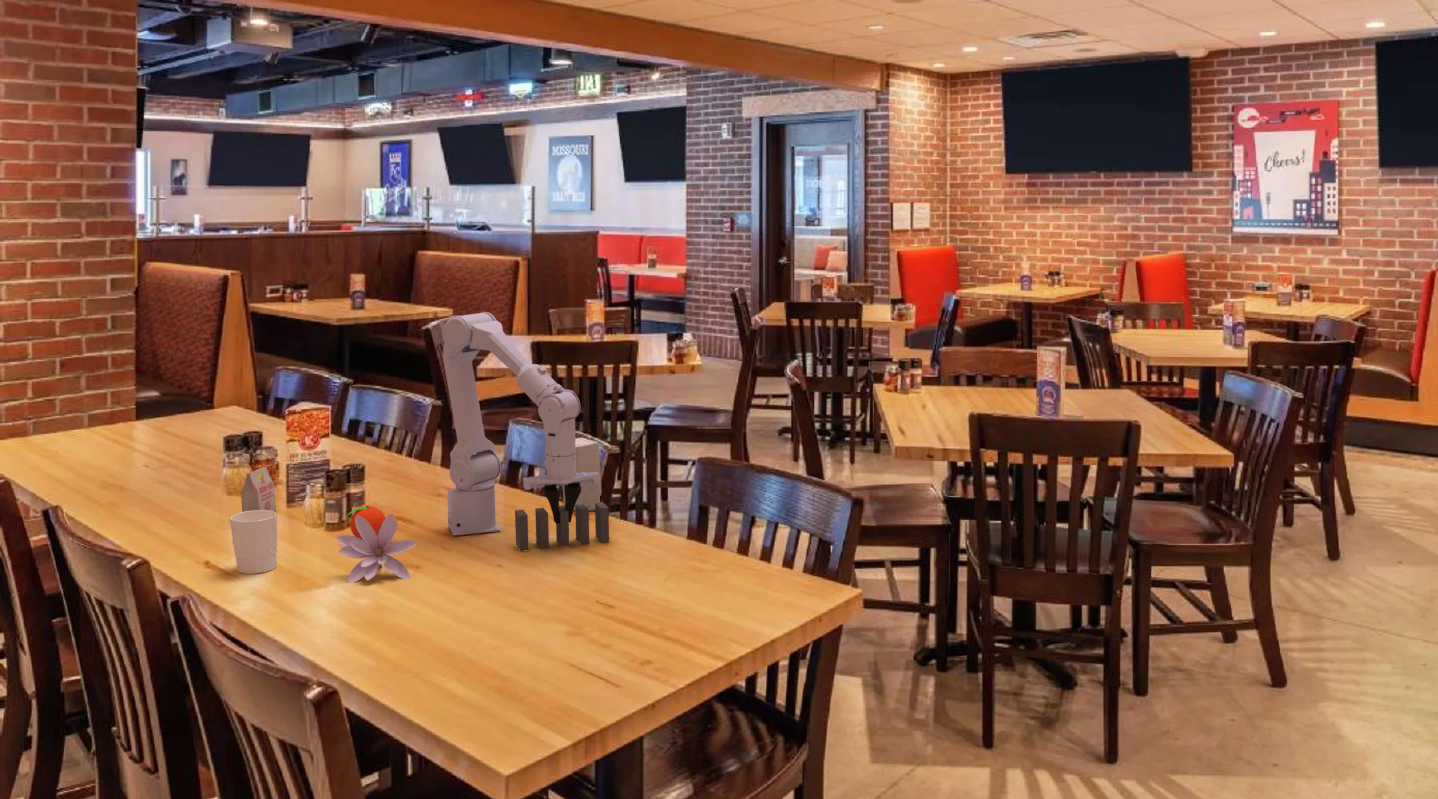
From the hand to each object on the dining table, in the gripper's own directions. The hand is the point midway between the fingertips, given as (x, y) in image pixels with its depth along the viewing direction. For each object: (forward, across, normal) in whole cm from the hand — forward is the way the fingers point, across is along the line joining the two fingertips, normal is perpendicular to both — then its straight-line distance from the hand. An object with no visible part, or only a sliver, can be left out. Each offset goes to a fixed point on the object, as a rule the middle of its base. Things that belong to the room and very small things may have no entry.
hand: (562, 521), depth 230 cm
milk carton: (+4, -56, +42) cm, 70 cm away
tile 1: (+4, -8, 0) cm, 9 cm away
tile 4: (+4, +4, 0) cm, 6 cm away
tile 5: (+4, +8, 0) cm, 9 cm away
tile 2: (+4, -4, 0) cm, 6 cm away
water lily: (+5, -36, -8) cm, 37 cm away
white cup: (+4, -56, +4) cm, 56 cm away
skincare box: (+5, +10, +25) cm, 27 cm away
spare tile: (+4, 0, 0) cm, 5 cm away
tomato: (+4, -36, +15) cm, 39 cm away
